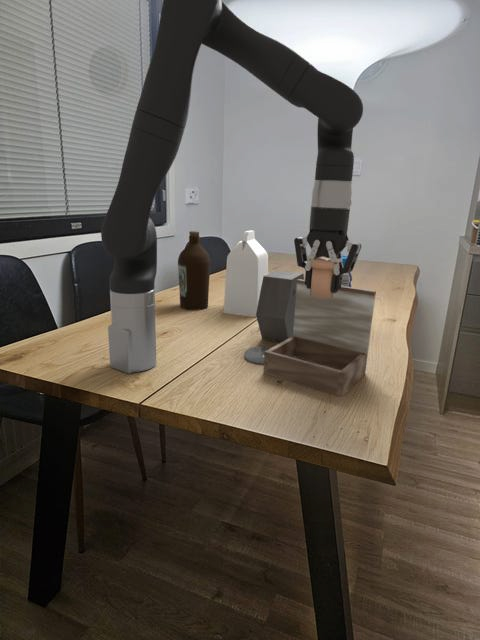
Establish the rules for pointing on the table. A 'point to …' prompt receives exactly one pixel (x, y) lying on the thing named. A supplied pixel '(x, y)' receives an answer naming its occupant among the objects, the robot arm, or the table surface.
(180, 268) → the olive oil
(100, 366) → the table surface
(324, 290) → the round cabinet knob
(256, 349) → the saucer
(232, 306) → the milk
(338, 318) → the hinged wooden box
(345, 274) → the beverage bottle
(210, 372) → the table surface
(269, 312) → the planter
